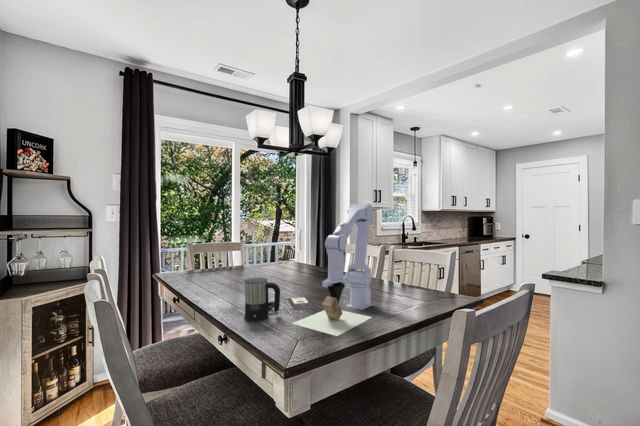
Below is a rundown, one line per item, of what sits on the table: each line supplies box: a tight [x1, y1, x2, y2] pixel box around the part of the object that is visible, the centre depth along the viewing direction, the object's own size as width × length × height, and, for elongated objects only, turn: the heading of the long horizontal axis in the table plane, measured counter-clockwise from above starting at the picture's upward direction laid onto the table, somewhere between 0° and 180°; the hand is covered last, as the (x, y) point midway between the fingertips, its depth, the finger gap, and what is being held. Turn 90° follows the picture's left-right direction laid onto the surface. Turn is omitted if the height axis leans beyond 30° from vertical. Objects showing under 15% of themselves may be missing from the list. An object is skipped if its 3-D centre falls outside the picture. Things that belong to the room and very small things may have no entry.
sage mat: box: [291, 309, 373, 337], centre depth 122 cm, size 24×20×1 cm
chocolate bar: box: [288, 296, 317, 311], centre depth 144 cm, size 9×1×18 cm
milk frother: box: [243, 276, 281, 322], centre depth 130 cm, size 14×16×15 cm
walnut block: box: [321, 296, 343, 321], centre depth 121 cm, size 4×4×8 cm
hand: (335, 303), depth 123 cm, fingers closed
